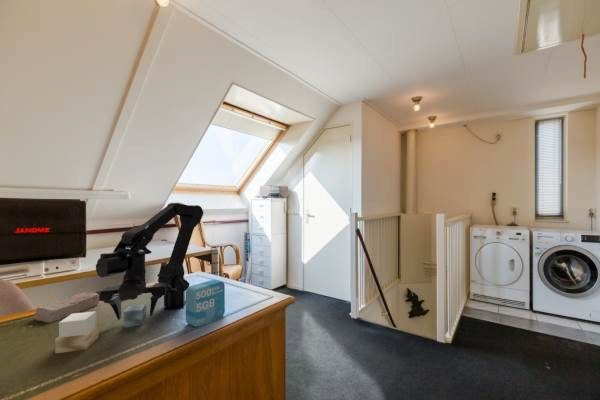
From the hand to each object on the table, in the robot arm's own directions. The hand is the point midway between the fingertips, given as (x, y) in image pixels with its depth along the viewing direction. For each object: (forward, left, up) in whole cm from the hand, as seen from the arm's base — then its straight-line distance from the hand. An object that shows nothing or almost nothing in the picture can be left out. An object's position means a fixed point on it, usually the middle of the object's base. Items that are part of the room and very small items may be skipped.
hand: (135, 317), depth 90 cm
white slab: (+11, +11, +2) cm, 16 cm away
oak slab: (+11, +11, -2) cm, 16 cm away
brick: (+26, -17, -2) cm, 31 cm away
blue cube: (0, 0, -2) cm, 2 cm away
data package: (-22, +4, -2) cm, 22 cm away
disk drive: (+15, -32, -2) cm, 35 cm away
